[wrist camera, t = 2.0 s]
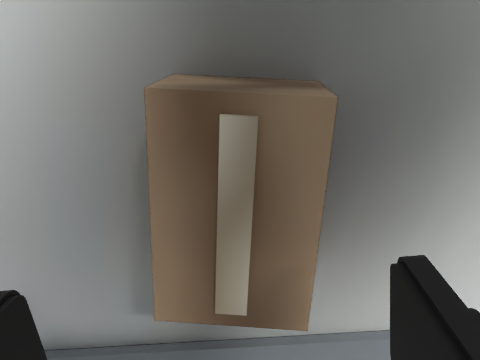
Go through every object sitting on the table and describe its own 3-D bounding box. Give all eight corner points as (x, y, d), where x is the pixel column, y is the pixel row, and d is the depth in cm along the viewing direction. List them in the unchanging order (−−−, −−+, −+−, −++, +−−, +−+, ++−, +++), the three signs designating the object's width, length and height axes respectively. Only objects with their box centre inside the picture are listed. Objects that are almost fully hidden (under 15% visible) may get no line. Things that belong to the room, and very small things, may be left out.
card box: (317, 80, 16) (339, 98, 12) (297, 266, 19) (308, 334, 15) (174, 73, 16) (142, 88, 12) (177, 258, 20) (153, 323, 15)
